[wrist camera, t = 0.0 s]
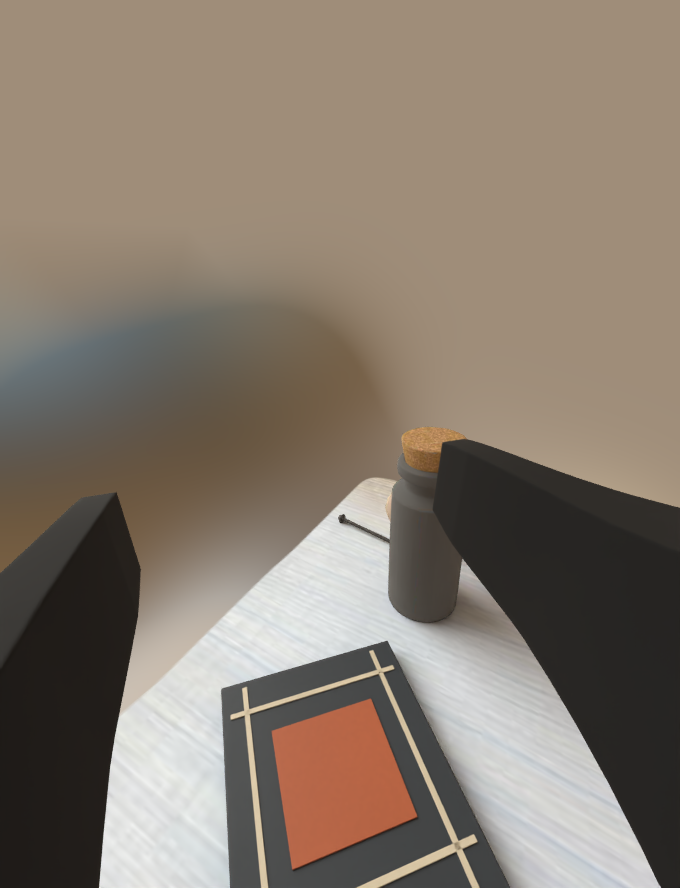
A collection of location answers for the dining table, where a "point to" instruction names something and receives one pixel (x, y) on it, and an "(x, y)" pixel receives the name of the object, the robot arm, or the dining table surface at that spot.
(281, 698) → the board
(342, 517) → the screw
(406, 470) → the bottle
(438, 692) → the dining table surface
